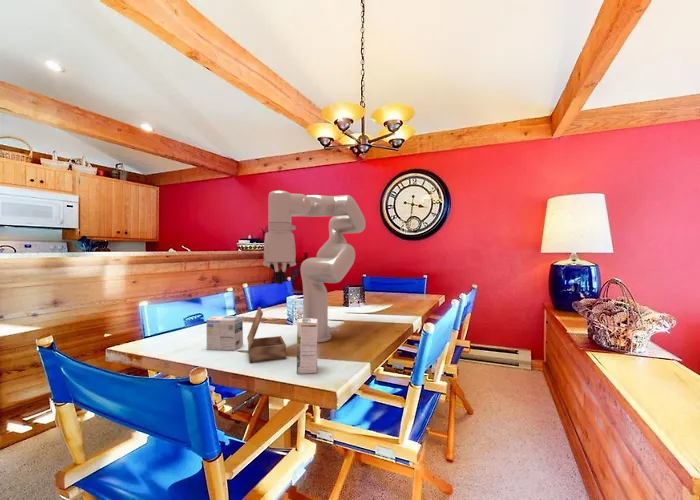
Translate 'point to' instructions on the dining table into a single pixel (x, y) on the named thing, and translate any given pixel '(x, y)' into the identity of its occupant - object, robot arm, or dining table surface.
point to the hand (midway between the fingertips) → (279, 283)
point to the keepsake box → (267, 349)
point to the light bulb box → (224, 332)
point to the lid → (254, 326)
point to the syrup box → (307, 345)
